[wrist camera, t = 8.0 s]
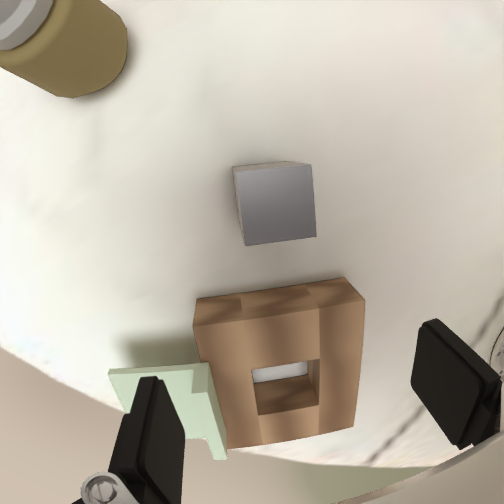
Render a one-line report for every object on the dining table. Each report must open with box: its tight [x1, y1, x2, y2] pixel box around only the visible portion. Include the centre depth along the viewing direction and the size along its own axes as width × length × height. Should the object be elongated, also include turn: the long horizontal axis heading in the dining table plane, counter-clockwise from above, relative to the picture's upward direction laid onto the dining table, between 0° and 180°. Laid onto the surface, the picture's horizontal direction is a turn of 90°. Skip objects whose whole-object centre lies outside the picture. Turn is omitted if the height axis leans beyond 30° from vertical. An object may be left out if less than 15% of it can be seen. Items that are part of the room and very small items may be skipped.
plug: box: [232, 161, 317, 246], centre depth 23 cm, size 4×4×8 cm
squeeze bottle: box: [0, 0, 127, 98], centre depth 13 cm, size 8×8×18 cm
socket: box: [193, 278, 365, 449], centre depth 29 cm, size 14×16×5 cm
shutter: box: [107, 362, 227, 460], centre depth 25 cm, size 9×9×4 cm
